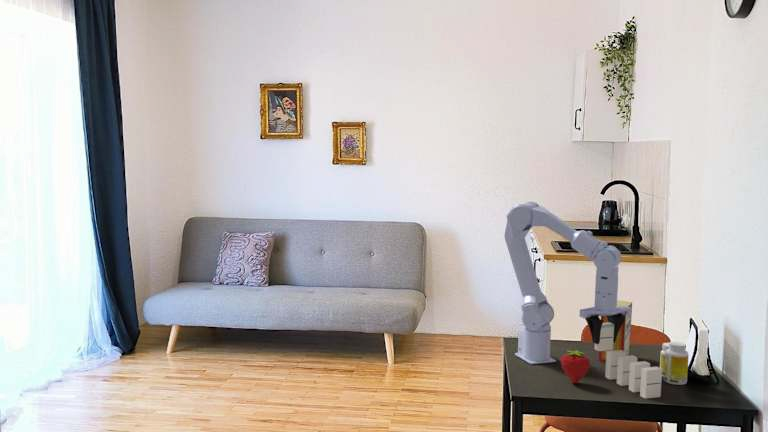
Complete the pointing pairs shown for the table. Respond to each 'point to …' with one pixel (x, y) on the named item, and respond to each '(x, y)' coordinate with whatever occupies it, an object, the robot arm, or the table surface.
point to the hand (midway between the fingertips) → (603, 342)
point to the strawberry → (575, 365)
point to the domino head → (606, 337)
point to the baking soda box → (620, 334)
